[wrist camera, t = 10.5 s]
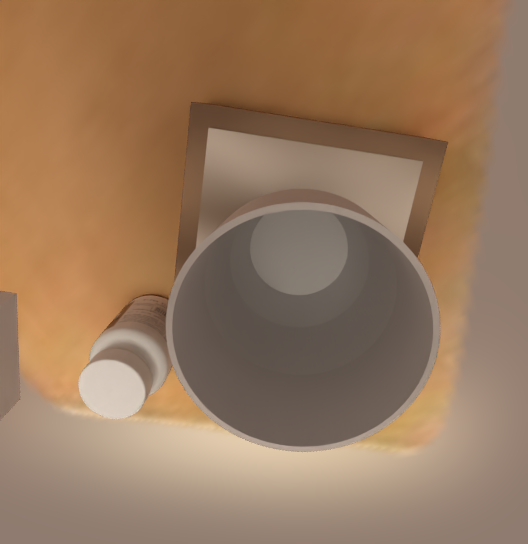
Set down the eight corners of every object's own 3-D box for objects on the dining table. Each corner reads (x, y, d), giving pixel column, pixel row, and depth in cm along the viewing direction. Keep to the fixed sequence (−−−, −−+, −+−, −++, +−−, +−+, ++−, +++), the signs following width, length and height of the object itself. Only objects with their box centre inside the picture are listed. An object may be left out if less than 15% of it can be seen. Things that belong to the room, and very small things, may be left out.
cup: (247, 339, 26) (218, 474, 16) (193, 194, 23) (123, 251, 14) (398, 298, 24) (465, 419, 15) (357, 140, 22) (405, 163, 12)
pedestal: (207, 103, 27) (189, 101, 22) (422, 137, 26) (450, 142, 22) (187, 301, 30) (167, 336, 26) (374, 332, 30) (389, 373, 26)
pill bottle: (118, 292, 31) (62, 349, 23) (186, 294, 30) (152, 353, 23) (123, 353, 32) (72, 426, 25) (188, 356, 32) (157, 430, 24)
